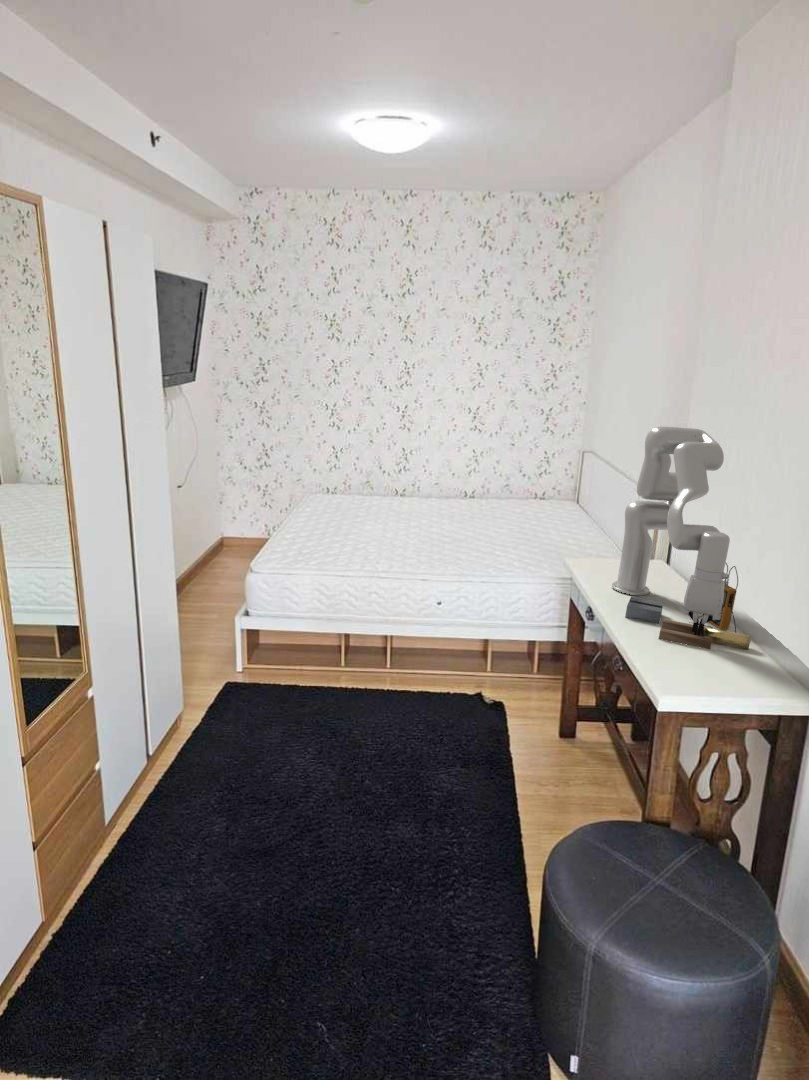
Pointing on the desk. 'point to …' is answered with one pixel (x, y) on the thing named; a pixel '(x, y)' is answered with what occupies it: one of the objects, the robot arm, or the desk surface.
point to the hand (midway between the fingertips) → (696, 634)
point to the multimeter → (726, 606)
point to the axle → (727, 638)
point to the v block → (644, 610)
